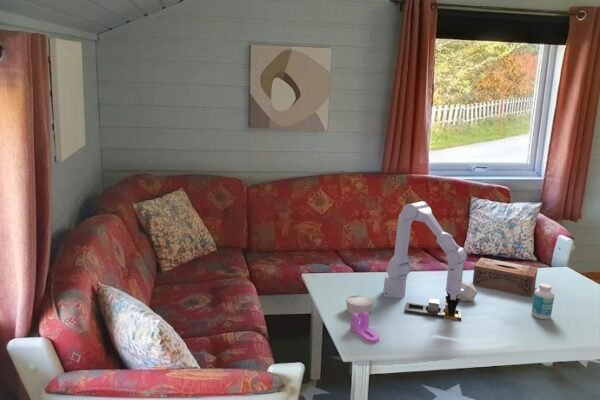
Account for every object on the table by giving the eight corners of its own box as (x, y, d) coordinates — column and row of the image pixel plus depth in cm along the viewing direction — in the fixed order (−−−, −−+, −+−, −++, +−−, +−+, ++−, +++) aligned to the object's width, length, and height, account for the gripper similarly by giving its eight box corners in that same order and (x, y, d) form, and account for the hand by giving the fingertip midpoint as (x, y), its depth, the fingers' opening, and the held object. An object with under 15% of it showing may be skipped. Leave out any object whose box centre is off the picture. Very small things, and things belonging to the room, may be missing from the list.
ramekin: (357, 304, 231) (357, 292, 230) (378, 312, 223) (379, 300, 222) (339, 311, 223) (340, 299, 222) (360, 320, 215) (361, 307, 214)
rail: (404, 314, 222) (404, 309, 222) (406, 306, 230) (406, 302, 229) (460, 322, 217) (461, 317, 216) (460, 314, 224) (461, 309, 224)
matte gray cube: (427, 313, 222) (428, 302, 221) (428, 309, 225) (429, 298, 224) (437, 315, 221) (439, 303, 220) (438, 311, 224) (439, 299, 223)
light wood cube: (444, 316, 220) (445, 304, 219) (444, 312, 224) (445, 300, 223) (454, 317, 219) (456, 305, 218) (454, 313, 223) (456, 301, 222)
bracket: (350, 329, 207) (351, 312, 206) (362, 326, 210) (363, 309, 208) (369, 344, 196) (370, 326, 195) (382, 341, 199) (383, 323, 197)
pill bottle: (542, 321, 221) (546, 289, 218) (527, 314, 227) (531, 283, 224) (554, 318, 224) (559, 287, 221) (539, 311, 231) (544, 281, 228)
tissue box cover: (534, 287, 258) (537, 267, 256) (530, 297, 246) (533, 276, 244) (478, 276, 270) (480, 257, 268) (472, 285, 258) (474, 265, 256)
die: (472, 308, 233) (484, 288, 234) (454, 296, 233) (466, 276, 235) (465, 307, 241) (477, 287, 243) (448, 295, 242) (459, 276, 243)
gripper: (465, 285, 210) (461, 318, 213) (464, 273, 224) (461, 304, 227) (446, 283, 212) (443, 316, 215) (446, 271, 226) (443, 302, 228)
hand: (451, 310), depth 221 cm, fingers open, 7 cm apart
